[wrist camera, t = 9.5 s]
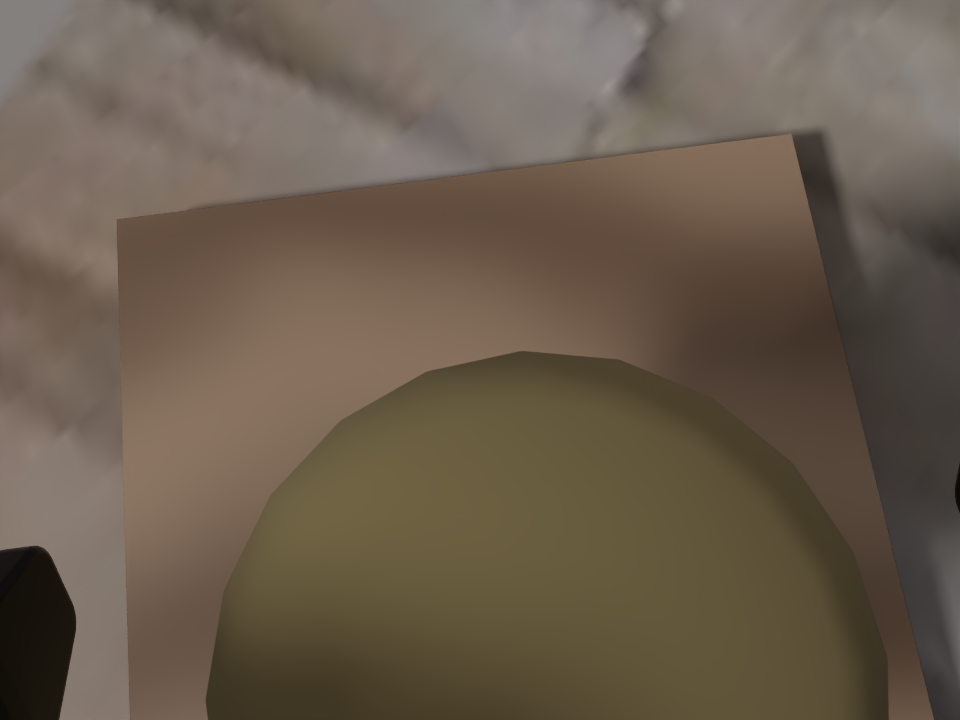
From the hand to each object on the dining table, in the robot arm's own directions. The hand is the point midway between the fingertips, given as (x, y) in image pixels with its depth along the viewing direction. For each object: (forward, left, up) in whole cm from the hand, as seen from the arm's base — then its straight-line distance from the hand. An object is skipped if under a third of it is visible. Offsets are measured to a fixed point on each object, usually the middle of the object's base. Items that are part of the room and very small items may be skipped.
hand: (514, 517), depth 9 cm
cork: (-1, +1, -8) cm, 8 cm away
